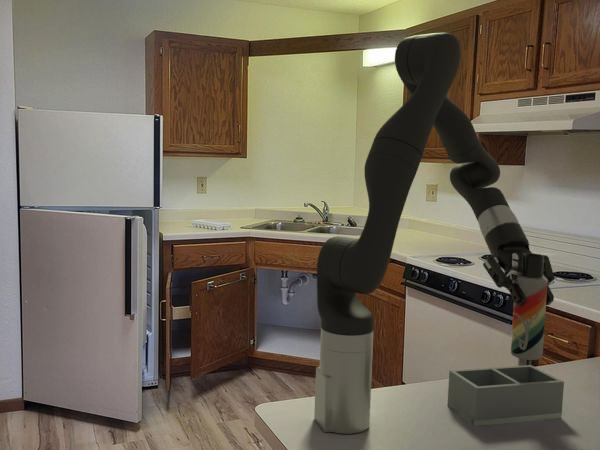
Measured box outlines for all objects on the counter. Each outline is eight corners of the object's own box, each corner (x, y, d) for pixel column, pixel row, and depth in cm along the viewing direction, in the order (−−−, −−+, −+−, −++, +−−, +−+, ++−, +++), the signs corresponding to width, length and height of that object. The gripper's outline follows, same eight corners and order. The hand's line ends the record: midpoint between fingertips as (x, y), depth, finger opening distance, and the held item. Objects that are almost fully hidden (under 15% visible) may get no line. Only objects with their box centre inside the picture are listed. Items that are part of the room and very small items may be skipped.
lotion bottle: (508, 357, 112) (515, 252, 110) (512, 349, 117) (519, 249, 115) (540, 362, 109) (548, 255, 107) (543, 354, 114) (550, 252, 112)
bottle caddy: (474, 426, 105) (476, 388, 105) (447, 405, 114) (449, 370, 114) (561, 417, 110) (564, 381, 110) (528, 398, 119) (531, 365, 119)
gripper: (479, 220, 116) (512, 293, 105) (541, 221, 119) (579, 291, 109) (463, 244, 121) (493, 315, 111) (523, 243, 125) (558, 312, 115)
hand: (536, 303), depth 110 cm, fingers closed on lotion bottle, 5 cm apart
